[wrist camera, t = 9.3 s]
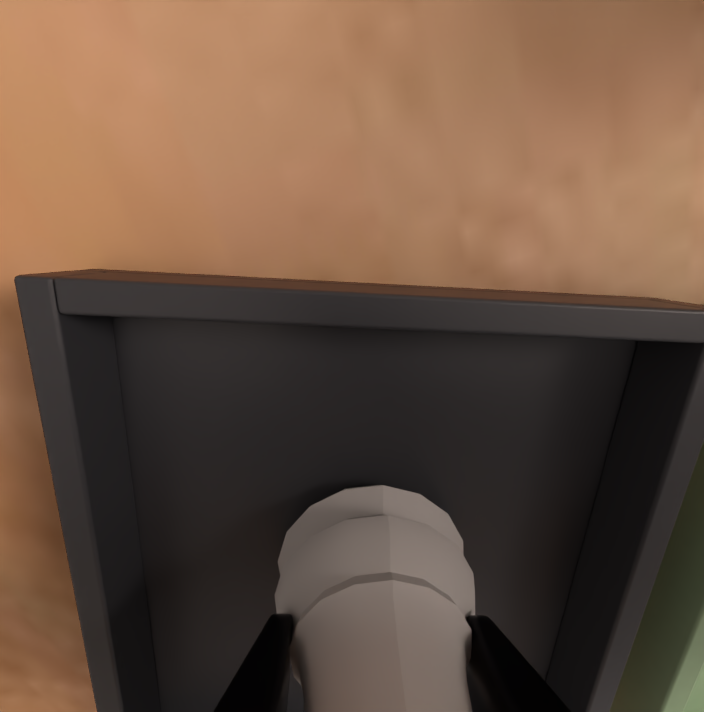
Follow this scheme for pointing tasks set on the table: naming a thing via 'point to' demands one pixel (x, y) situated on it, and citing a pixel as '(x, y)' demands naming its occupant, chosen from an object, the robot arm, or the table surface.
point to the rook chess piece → (377, 604)
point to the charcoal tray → (355, 456)
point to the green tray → (672, 621)
